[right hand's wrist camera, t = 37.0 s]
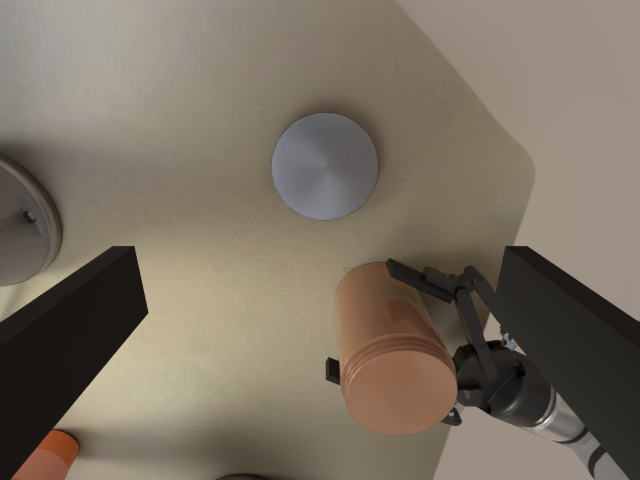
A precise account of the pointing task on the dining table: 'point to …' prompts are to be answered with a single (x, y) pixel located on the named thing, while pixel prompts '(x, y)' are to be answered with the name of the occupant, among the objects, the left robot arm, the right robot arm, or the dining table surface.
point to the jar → (391, 355)
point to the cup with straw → (50, 458)
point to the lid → (324, 166)
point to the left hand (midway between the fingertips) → (356, 320)
